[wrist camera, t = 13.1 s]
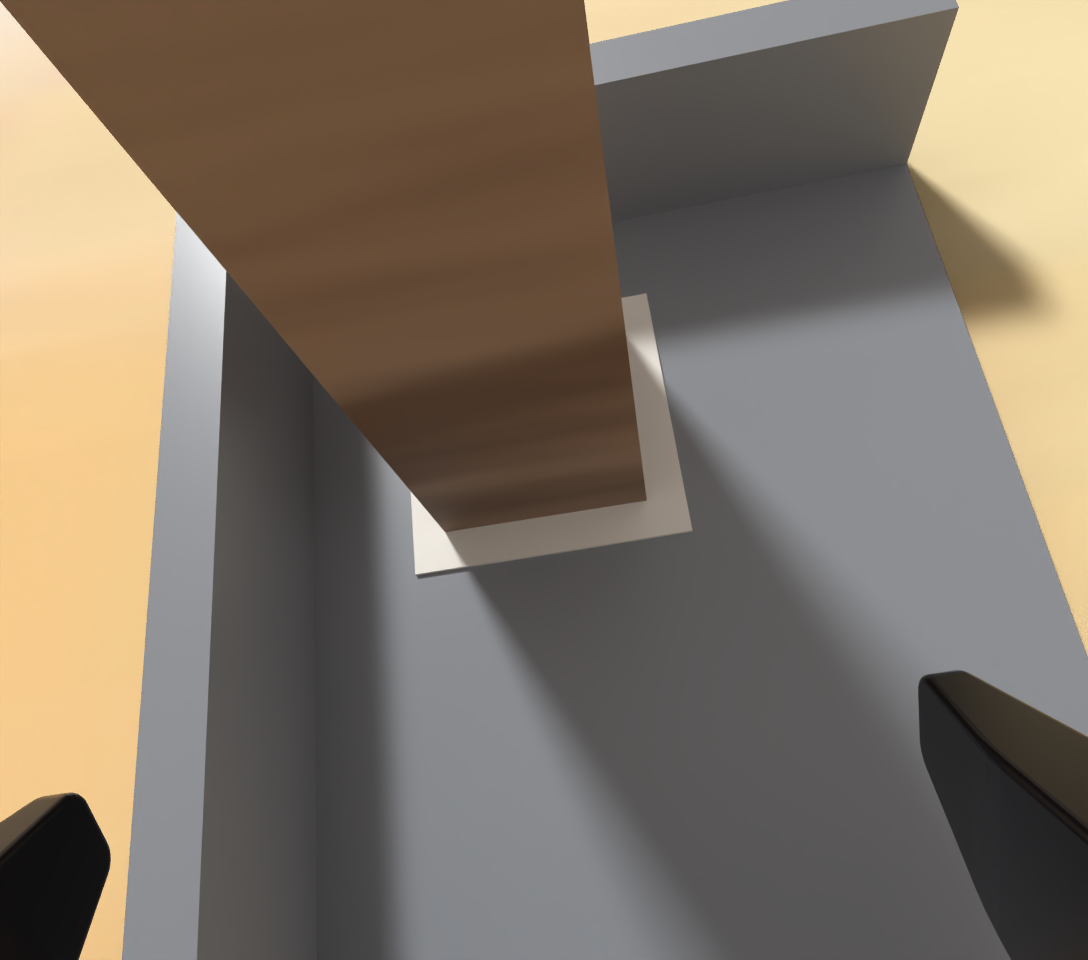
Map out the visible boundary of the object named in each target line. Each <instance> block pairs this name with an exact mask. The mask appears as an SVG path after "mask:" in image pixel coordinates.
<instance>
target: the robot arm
mask: <svg viewBox="0 0 1088 960" xmlns="http://www.w3.org/2000/svg"><path fill="white" fill-rule="evenodd" d="M918 705H919V736H920V747H921V752H922V756H923V760H924V763H925V766H926V768H927V771H928V773H929V776H930V778H931V781H932V783H933V786H934V788H935V791H936V793H937V795H938V798H939V800H940V803H941V805H942V808H943V810H944V813H945V815H946V817H947V820H948V822H949V825H950V827H951V830H952V832H953V835H954V837H955V839H956V842H957V844H958V847H959V849H960V852H961V854H962V857H963V859H964V862H965V864H966V866H967V869H968V871H969V874H970V876H971V879H972V881H973V884H974V886H975V888H976V891H977V893H978V895H979V898H980V900H981V902H982V905H983V907H984V909H985V911H986V913H987V915H988V917H989V919H990V921H991V923H992V925H993V927H994V929H995V931H996V933H997V935H998V937H999V939H1000V941H1001V943H1002V944H1003V946H1004V948H1005V950H1006V952H1007V954H1008V955H1009V957H1010V959H1011V960H1088V736H1087V735H1085V734H1083V733H1081V732H1079V731H1077V730H1075V729H1073V728H1072V727H1070V726H1068V725H1066V724H1064V723H1062V722H1060V721H1058V720H1057V719H1055V718H1053V717H1051V716H1049V715H1047V714H1045V713H1043V712H1042V711H1040V710H1038V709H1036V708H1034V707H1032V706H1030V705H1029V704H1027V703H1025V702H1023V701H1021V700H1019V699H1017V698H1015V697H1014V696H1012V695H1010V694H1008V693H1006V692H1004V691H1002V690H1000V689H999V688H997V687H995V686H993V685H991V684H989V683H987V682H985V681H984V680H982V679H980V678H978V677H976V676H974V675H972V674H970V673H968V672H966V671H962V670H954V671H947V672H940V673H933V674H926V675H924V676H923V677H922V678H921V679H920V681H919V685H918ZM110 862H111V857H110V849H109V846H108V843H107V841H106V839H105V837H104V835H103V833H102V832H101V830H100V828H99V826H98V824H97V822H96V820H95V818H94V816H93V814H92V812H91V810H90V808H89V806H88V804H87V802H86V801H85V799H84V798H83V797H81V796H80V795H79V794H76V793H64V794H57V795H49V796H44V797H40V798H37V799H35V800H34V801H32V802H30V803H29V804H27V805H26V806H24V807H23V808H21V809H20V810H18V811H17V812H15V813H14V814H12V815H11V816H9V817H8V818H6V819H5V820H3V821H2V822H0V960H79V957H80V954H81V951H82V948H83V945H84V942H85V939H86V937H87V934H88V931H89V928H90V925H91V922H92V919H93V916H94V913H95V910H96V907H97V905H98V902H99V899H100V896H101V893H102V890H103V887H104V884H105V881H106V878H107V876H108V872H109V869H110Z"/></svg>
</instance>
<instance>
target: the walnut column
mask: <svg viewBox="0 0 1088 960" xmlns="http://www.w3.org/2000/svg"><path fill="white" fill-rule="evenodd" d="M0 1H1V3H2V4H3V5H4V6H5V7H6V9H7V10H8V11H9V12H10V13H11V15H12V16H13V17H14V18H15V19H16V20H17V22H18V23H19V24H20V25H21V26H22V28H23V29H24V30H25V31H26V32H27V34H28V35H29V36H30V37H31V38H32V40H33V41H34V42H35V43H36V44H37V46H38V47H39V48H40V49H41V50H42V52H43V53H44V54H45V55H46V56H47V58H48V59H49V60H50V61H51V62H52V63H53V65H54V66H55V67H56V68H57V69H58V71H59V72H60V73H61V74H62V75H63V77H64V78H65V79H66V80H67V81H68V83H69V84H70V85H71V86H72V87H73V89H74V90H75V91H76V92H77V93H78V95H79V96H80V97H81V98H82V99H83V101H84V102H85V103H86V104H87V105H88V106H89V108H90V109H91V110H92V111H93V112H94V114H95V115H96V116H97V117H98V118H99V120H100V121H101V122H102V123H103V124H104V126H105V127H106V128H107V129H108V130H109V132H110V133H111V134H112V135H113V136H114V138H115V139H116V140H117V141H118V142H119V144H120V145H121V146H122V147H123V148H124V149H125V151H126V152H127V153H128V154H129V155H130V157H131V158H132V159H133V160H134V161H135V163H136V164H137V165H138V166H139V167H140V169H141V170H142V171H143V172H144V173H145V175H146V176H147V177H148V178H149V179H150V181H151V182H152V183H153V184H154V185H155V186H156V188H157V189H158V190H159V191H160V192H161V194H162V195H163V196H164V197H165V198H166V200H167V201H168V202H169V203H170V204H171V206H172V207H173V208H174V209H175V210H176V212H177V213H178V214H179V215H180V216H181V218H182V219H183V220H184V221H185V222H186V224H187V225H188V226H189V227H190V228H191V229H192V231H193V232H194V233H195V234H196V235H197V237H198V238H199V239H200V240H201V241H202V243H203V244H204V245H205V246H206V247H207V249H208V250H209V251H210V252H211V253H212V255H213V256H214V257H215V258H216V259H217V261H218V262H219V263H220V264H221V265H222V267H223V268H224V269H225V270H226V271H227V272H228V274H229V275H230V276H231V277H232V278H233V280H234V281H235V282H236V283H237V284H238V286H239V287H240V288H241V289H242V290H243V292H244V293H245V294H246V295H247V296H248V298H249V299H250V300H251V301H252V302H253V304H254V305H255V306H256V307H257V308H258V310H259V311H260V312H261V313H262V314H263V315H264V317H265V318H266V319H267V320H268V321H269V323H270V324H271V325H272V326H273V327H274V329H275V330H276V331H277V332H278V333H279V335H280V336H281V337H282V338H283V339H284V341H285V342H286V343H287V344H288V345H289V347H290V348H291V349H292V350H293V351H294V352H295V354H296V355H297V356H298V357H299V358H300V360H301V361H302V362H303V363H304V364H305V366H306V367H307V368H308V369H309V370H310V372H311V373H312V374H313V375H314V376H315V378H316V379H317V380H318V381H319V382H320V384H321V385H322V386H323V387H324V388H325V390H326V391H327V392H328V393H329V394H330V395H331V397H332V398H333V399H334V400H335V401H336V403H337V404H338V405H339V406H340V407H341V409H342V410H343V411H344V412H345V413H346V415H347V416H348V417H349V418H350V419H351V421H352V422H353V423H354V424H355V425H356V427H357V428H358V429H359V430H360V431H361V433H362V434H363V435H364V436H365V437H366V438H367V440H368V441H369V442H370V443H371V444H372V446H373V447H374V448H375V449H376V450H377V452H378V453H379V454H380V455H381V456H382V458H383V459H384V460H385V461H386V462H387V464H388V465H389V466H390V467H391V468H392V470H393V471H394V472H395V473H396V474H397V476H398V477H399V478H400V479H401V480H402V481H403V483H404V484H405V485H406V486H407V487H408V489H409V490H410V491H411V492H412V493H413V495H414V496H415V497H416V498H417V499H418V501H419V502H420V503H421V504H422V505H423V507H424V508H425V509H426V510H427V511H428V513H429V514H430V515H431V516H432V517H433V519H434V520H435V521H436V522H437V523H438V524H439V526H440V527H441V528H442V529H443V530H444V532H449V531H456V530H462V529H469V528H475V527H481V526H488V525H494V524H500V523H507V522H513V521H520V520H526V519H532V518H539V517H545V516H551V515H558V514H564V513H571V512H577V511H583V510H590V509H596V508H602V507H609V506H615V505H622V504H628V503H634V502H641V501H647V498H646V490H645V482H644V474H643V466H642V458H641V450H640V443H639V435H638V427H637V419H636V411H635V403H634V395H633V387H632V379H631V371H630V363H629V355H628V347H627V339H626V331H625V323H624V315H623V307H622V299H621V291H620V284H619V276H618V268H617V260H616V252H615V244H614V236H613V228H612V220H611V212H610V204H609V196H608V188H607V180H606V172H605V164H604V156H603V148H602V140H601V132H600V124H599V117H598V109H597V101H596V93H595V85H594V77H593V69H592V61H591V53H590V45H589V37H588V29H587V21H586V13H585V5H584V0H0Z"/></svg>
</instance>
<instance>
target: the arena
mask: <svg viewBox="0 0 1088 960" xmlns="http://www.w3.org/2000/svg"><path fill="white" fill-rule="evenodd" d="M958 8H959V7H958V4H957V2H956V0H788V1H784V2H779V3H774V4H770V5H765V6H761V7H756V8H752V9H747V10H743V11H738V12H733V13H729V14H724V15H720V16H715V17H711V18H706V19H702V20H697V21H692V22H688V23H683V24H679V25H674V26H670V27H665V28H661V29H656V30H651V31H647V32H642V33H638V34H633V35H629V36H624V37H619V38H615V39H610V40H606V41H601V42H597V43H592V44H589V45H590V53H591V61H592V69H593V77H594V85H595V93H596V101H597V109H598V117H599V124H600V132H601V140H602V148H603V156H604V164H605V172H606V180H607V188H608V196H609V204H610V212H611V220H612V228H613V236H614V244H615V252H616V260H617V268H618V276H619V284H620V291H621V299H622V307H623V315H624V323H625V331H626V339H627V347H628V355H629V363H630V371H631V379H632V387H633V395H634V403H635V411H636V419H637V427H638V435H639V443H640V450H641V458H642V466H643V474H644V482H645V490H646V498H647V501H641V502H634V503H628V504H622V505H615V506H609V507H602V508H596V509H590V510H583V511H577V512H571V513H564V514H558V515H551V516H545V517H539V518H532V519H526V520H520V521H513V522H507V523H500V524H494V525H488V526H481V527H475V528H469V529H462V530H456V531H449V532H444V530H443V529H442V528H441V527H440V526H439V524H438V523H437V522H436V521H435V520H434V519H433V517H432V516H431V515H430V514H429V513H428V511H427V510H426V509H425V508H424V507H423V505H422V504H421V503H420V502H419V501H418V499H417V498H416V497H415V496H414V495H413V493H412V492H411V491H410V490H409V489H408V487H407V486H406V485H405V484H404V483H403V481H402V480H401V479H400V478H399V477H398V476H397V474H396V473H395V472H394V471H393V470H392V468H391V467H390V466H389V465H388V464H387V462H386V461H385V460H384V459H383V458H382V456H381V455H380V454H379V453H378V452H377V450H376V449H375V448H374V447H373V446H372V444H371V443H370V442H369V441H368V440H367V438H366V437H365V436H364V435H363V434H362V433H361V431H360V430H359V429H358V428H357V427H356V425H355V424H354V423H353V422H352V421H351V419H350V418H349V417H348V416H347V415H346V413H345V412H344V411H343V410H342V409H341V407H340V406H339V405H338V404H337V403H336V401H335V400H334V399H333V398H332V397H331V395H330V394H329V393H328V392H327V391H326V390H325V388H324V387H323V386H322V385H321V384H320V382H319V381H318V380H317V379H316V378H315V376H314V375H313V374H312V373H311V372H310V370H309V369H308V368H307V367H306V366H305V364H304V363H303V362H302V361H301V360H300V358H299V357H298V356H297V355H296V354H295V352H294V351H293V350H292V349H291V348H290V347H289V345H288V344H287V343H286V342H285V341H284V339H283V338H282V337H281V336H280V335H279V333H278V332H277V331H276V330H275V329H274V327H273V326H272V325H271V324H270V323H269V321H268V320H267V319H266V318H265V317H264V315H263V314H262V313H261V312H260V311H259V310H258V308H257V307H256V306H255V305H254V304H253V302H252V301H251V300H250V299H249V298H248V296H247V295H246V294H245V293H244V292H243V290H242V289H241V288H240V287H239V286H238V284H237V283H236V282H235V281H234V280H233V278H232V277H231V276H230V275H229V274H228V272H227V271H226V270H225V269H224V268H223V267H222V265H221V264H220V263H219V262H218V261H217V259H216V258H215V257H214V256H213V255H212V253H211V252H210V251H209V250H208V249H207V247H206V246H205V245H204V244H203V243H202V241H201V240H200V239H199V238H198V237H197V235H196V234H195V233H194V232H193V231H192V229H191V228H190V227H189V226H188V225H187V224H186V222H185V221H184V220H183V219H182V218H181V216H180V215H179V214H178V213H177V216H176V230H175V243H174V257H173V271H172V284H171V298H170V311H169V325H168V339H167V352H166V366H165V380H164V393H163V407H162V420H161V434H160V448H159V461H158V475H157V489H156V502H155V516H154V529H153V543H152V557H151V570H150V584H149V598H148V611H147V625H146V638H145V652H144V666H143V679H142V693H141V707H140V720H139V734H138V747H137V761H136V775H135V788H134V802H133V816H132V829H131V843H130V856H129V870H128V884H127V897H126V911H125V925H124V938H123V952H122V960H1011V959H1010V957H1009V955H1008V954H1007V952H1006V950H1005V948H1004V946H1003V944H1002V943H1001V941H1000V939H999V937H998V935H997V933H996V931H995V929H994V927H993V925H992V923H991V921H990V919H989V917H988V915H987V913H986V911H985V909H984V907H983V905H982V902H981V900H980V898H979V895H978V893H977V891H976V888H975V886H974V884H973V881H972V879H971V876H970V874H969V871H968V869H967V866H966V864H965V862H964V859H963V857H962V854H961V852H960V849H959V847H958V844H957V842H956V839H955V837H954V835H953V832H952V830H951V827H950V825H949V822H948V820H947V817H946V815H945V813H944V810H943V808H942V805H941V803H940V800H939V798H938V795H937V793H936V791H935V788H934V786H933V783H932V781H931V778H930V776H929V773H928V771H927V768H926V766H925V763H924V760H923V756H922V752H921V747H920V736H919V705H918V685H919V681H920V679H921V678H922V677H923V676H924V675H926V674H933V673H940V672H947V671H954V670H962V671H966V672H968V673H970V674H972V675H974V676H976V677H978V678H980V679H982V680H984V681H985V682H987V683H989V684H991V685H993V686H995V687H997V688H999V689H1000V690H1002V691H1004V692H1006V693H1008V694H1010V695H1012V696H1014V697H1015V698H1017V699H1019V700H1021V701H1023V702H1025V703H1027V704H1029V705H1030V706H1032V707H1034V708H1036V709H1038V710H1040V711H1042V712H1043V713H1045V714H1047V715H1049V716H1051V717H1053V718H1055V719H1057V720H1058V721H1060V722H1062V723H1064V724H1066V725H1068V726H1070V727H1072V728H1073V729H1075V730H1077V731H1079V732H1081V733H1083V734H1085V735H1087V736H1088V657H1087V654H1086V652H1085V649H1084V646H1083V643H1082V641H1081V638H1080V635H1079V632H1078V630H1077V627H1076V624H1075V622H1074V619H1073V616H1072V613H1071V611H1070V608H1069V605H1068V603H1067V600H1066V597H1065V594H1064V592H1063V589H1062V586H1061V583H1060V581H1059V578H1058V575H1057V573H1056V570H1055V567H1054V564H1053V562H1052V559H1051V556H1050V554H1049V551H1048V548H1047V545H1046V543H1045V540H1044V537H1043V534H1042V532H1041V529H1040V526H1039V524H1038V521H1037V518H1036V515H1035V513H1034V510H1033V507H1032V505H1031V502H1030V499H1029V496H1028V494H1027V491H1026V488H1025V485H1024V483H1023V480H1022V477H1021V475H1020V472H1019V469H1018V466H1017V464H1016V461H1015V458H1014V455H1013V453H1012V450H1011V447H1010V445H1009V442H1008V439H1007V436H1006V434H1005V431H1004V428H1003V426H1002V423H1001V420H1000V417H999V415H998V412H997V409H996V406H995V404H994V401H993V398H992V396H991V393H990V390H989V387H988V385H987V382H986V379H985V377H984V374H983V371H982V368H981V366H980V363H979V360H978V357H977V355H976V352H975V349H974V347H973V344H972V341H971V338H970V336H969V333H968V330H967V328H966V325H965V322H964V319H963V317H962V314H961V311H960V308H959V306H958V303H957V300H956V298H955V295H954V292H953V289H952V287H951V284H950V281H949V279H948V276H947V273H946V270H945V268H944V265H943V262H942V259H941V257H940V254H939V251H938V249H937V246H936V243H935V240H934V238H933V235H932V232H931V230H930V227H929V224H928V221H927V219H926V216H925V213H924V210H923V208H922V205H921V202H920V200H919V197H918V194H917V191H916V189H915V186H914V183H913V181H912V178H911V175H910V172H909V170H908V167H907V161H908V158H909V155H910V152H911V149H912V146H913V143H914V140H915V137H916V134H917V131H918V128H919V125H920V122H921V119H922V116H923V113H924V110H925V107H926V104H927V101H928V98H929V95H930V92H931V89H932V86H933V83H934V80H935V77H936V74H937V71H938V68H939V65H940V62H941V59H942V56H943V53H944V50H945V47H946V44H947V41H948V38H949V35H950V32H951V29H952V26H953V23H954V20H955V17H956V14H957V11H958Z"/></svg>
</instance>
